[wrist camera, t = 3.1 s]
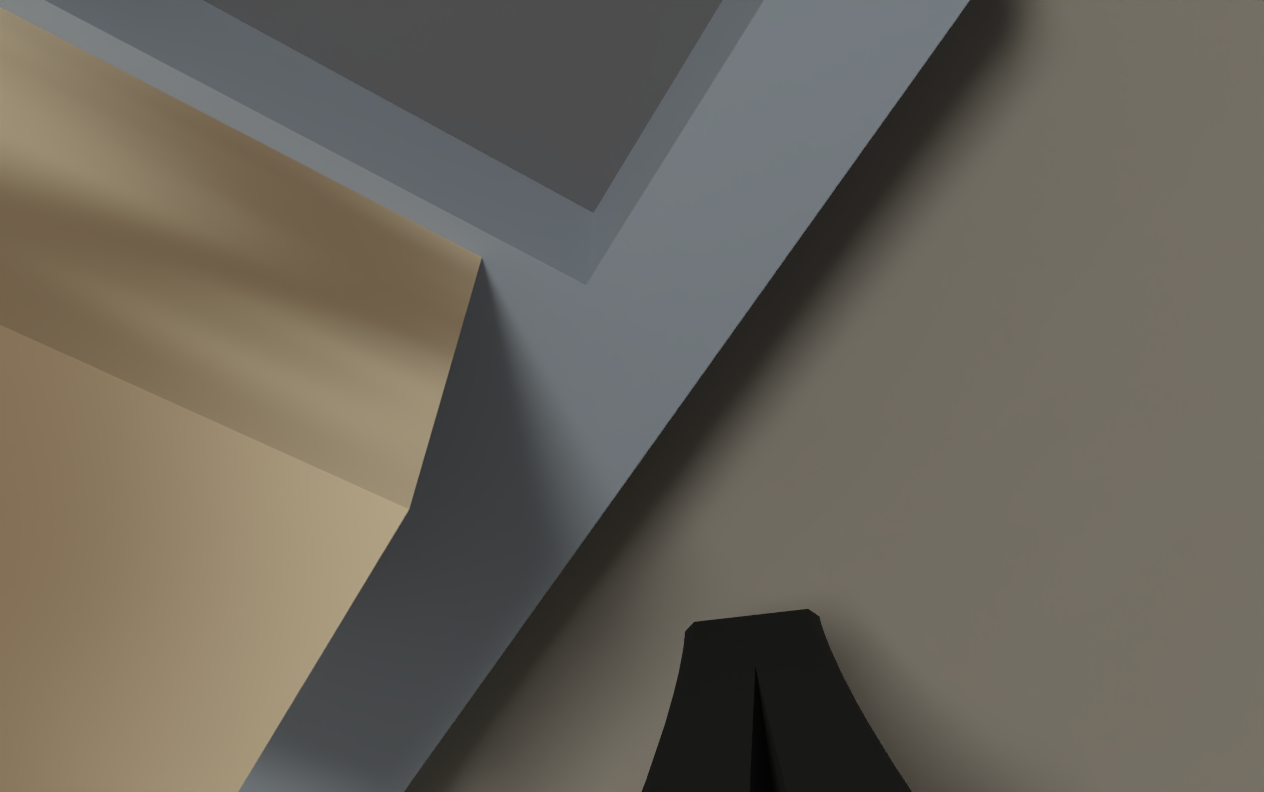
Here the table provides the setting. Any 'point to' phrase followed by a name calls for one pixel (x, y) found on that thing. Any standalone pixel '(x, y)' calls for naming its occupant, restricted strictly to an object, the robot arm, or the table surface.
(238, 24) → the deck
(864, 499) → the table surface
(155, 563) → the beech block
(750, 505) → the table surface
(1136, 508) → the table surface
